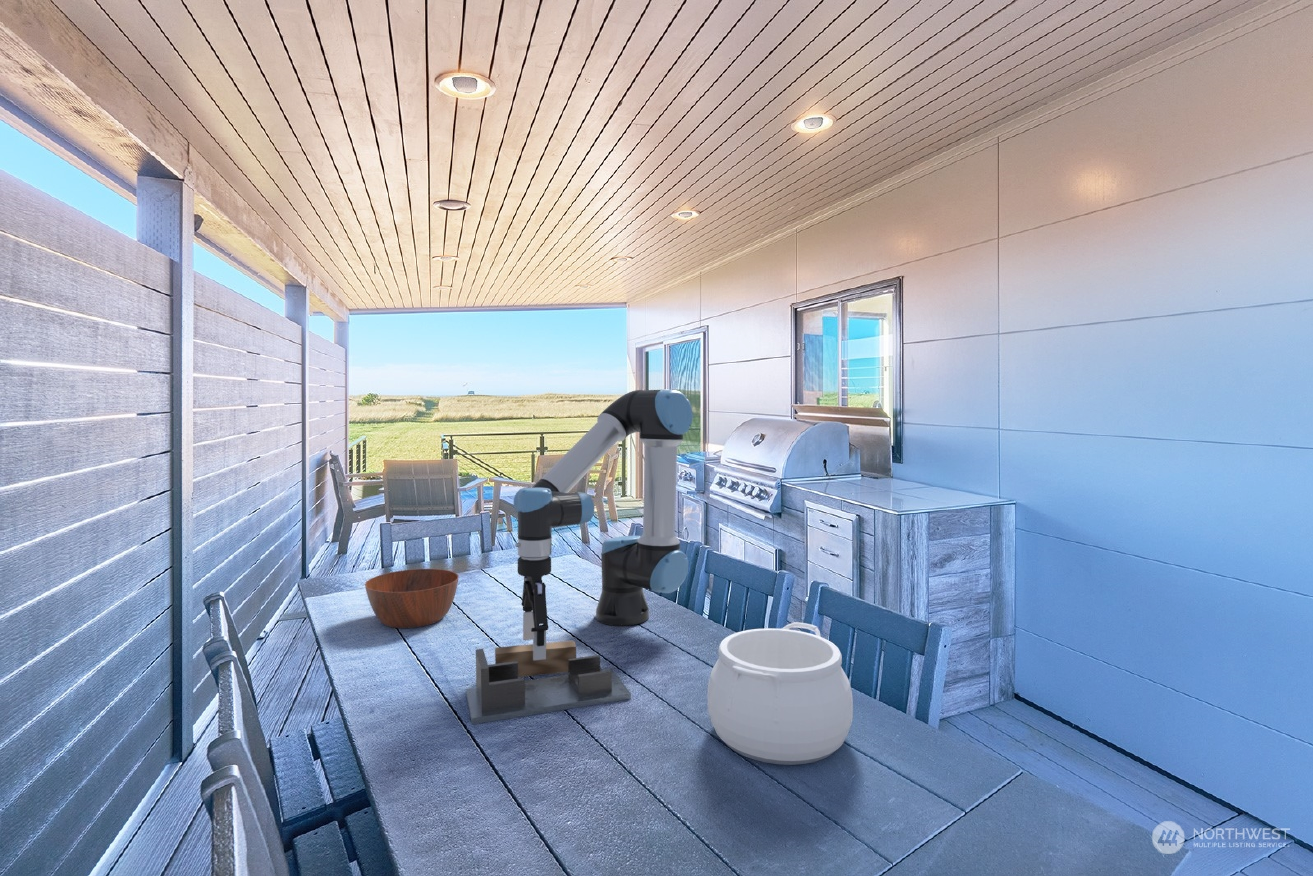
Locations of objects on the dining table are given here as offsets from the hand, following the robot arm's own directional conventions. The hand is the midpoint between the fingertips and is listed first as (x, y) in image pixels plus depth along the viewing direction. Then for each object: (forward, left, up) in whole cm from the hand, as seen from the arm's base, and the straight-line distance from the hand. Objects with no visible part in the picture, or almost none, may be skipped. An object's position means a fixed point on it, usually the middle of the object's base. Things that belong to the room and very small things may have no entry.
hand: (534, 649), depth 155 cm
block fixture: (0, +14, -5) cm, 15 cm away
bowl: (+26, -49, -6) cm, 56 cm away
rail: (0, 0, -6) cm, 6 cm away
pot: (-37, +45, -6) cm, 59 cm away
